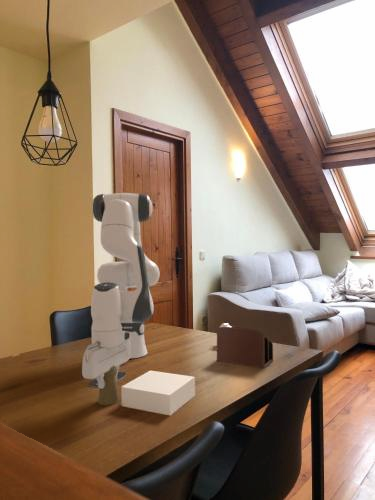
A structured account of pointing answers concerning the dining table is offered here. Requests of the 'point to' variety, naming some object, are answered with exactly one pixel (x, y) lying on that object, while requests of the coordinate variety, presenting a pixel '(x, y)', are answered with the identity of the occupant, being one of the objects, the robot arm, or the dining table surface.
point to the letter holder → (243, 347)
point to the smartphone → (119, 376)
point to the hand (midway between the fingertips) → (108, 384)
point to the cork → (109, 388)
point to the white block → (158, 392)
